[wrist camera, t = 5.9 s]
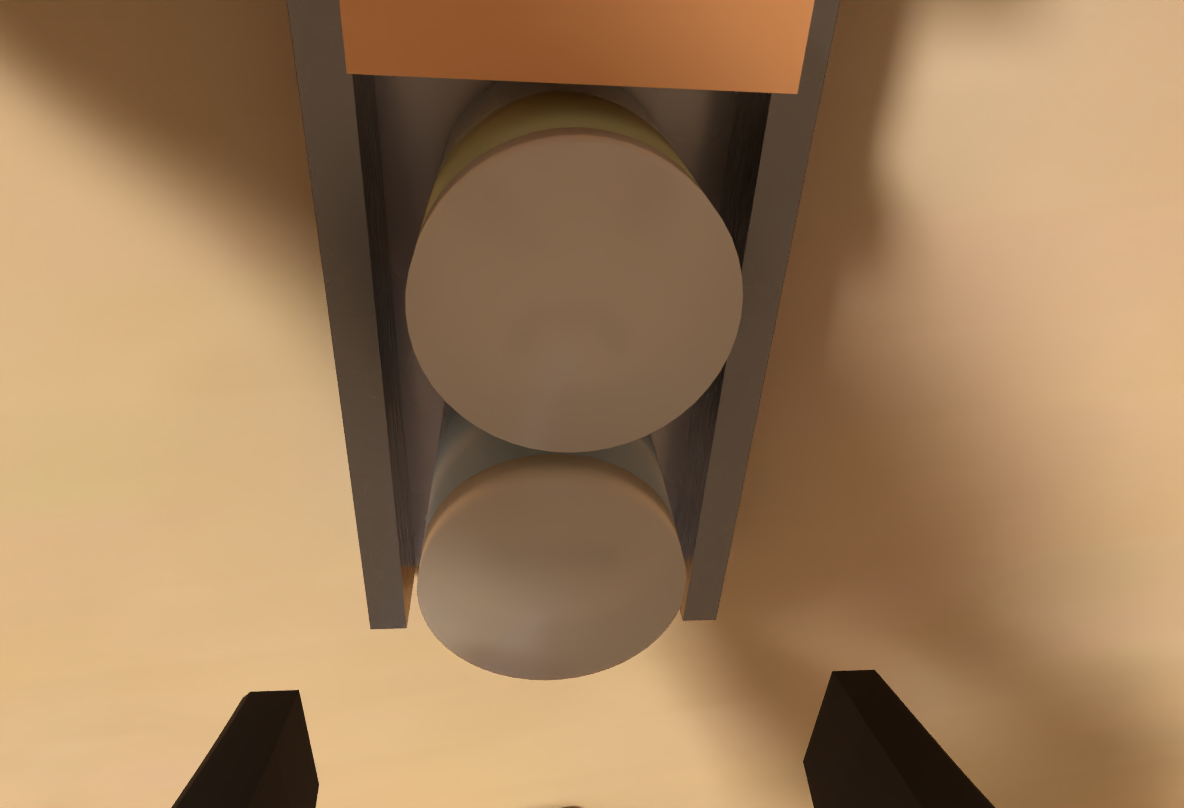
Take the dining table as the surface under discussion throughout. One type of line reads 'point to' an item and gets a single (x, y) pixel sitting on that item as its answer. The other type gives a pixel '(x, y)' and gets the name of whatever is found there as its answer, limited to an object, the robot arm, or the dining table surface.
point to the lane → (387, 243)
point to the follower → (584, 41)
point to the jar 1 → (569, 271)
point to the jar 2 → (547, 554)
